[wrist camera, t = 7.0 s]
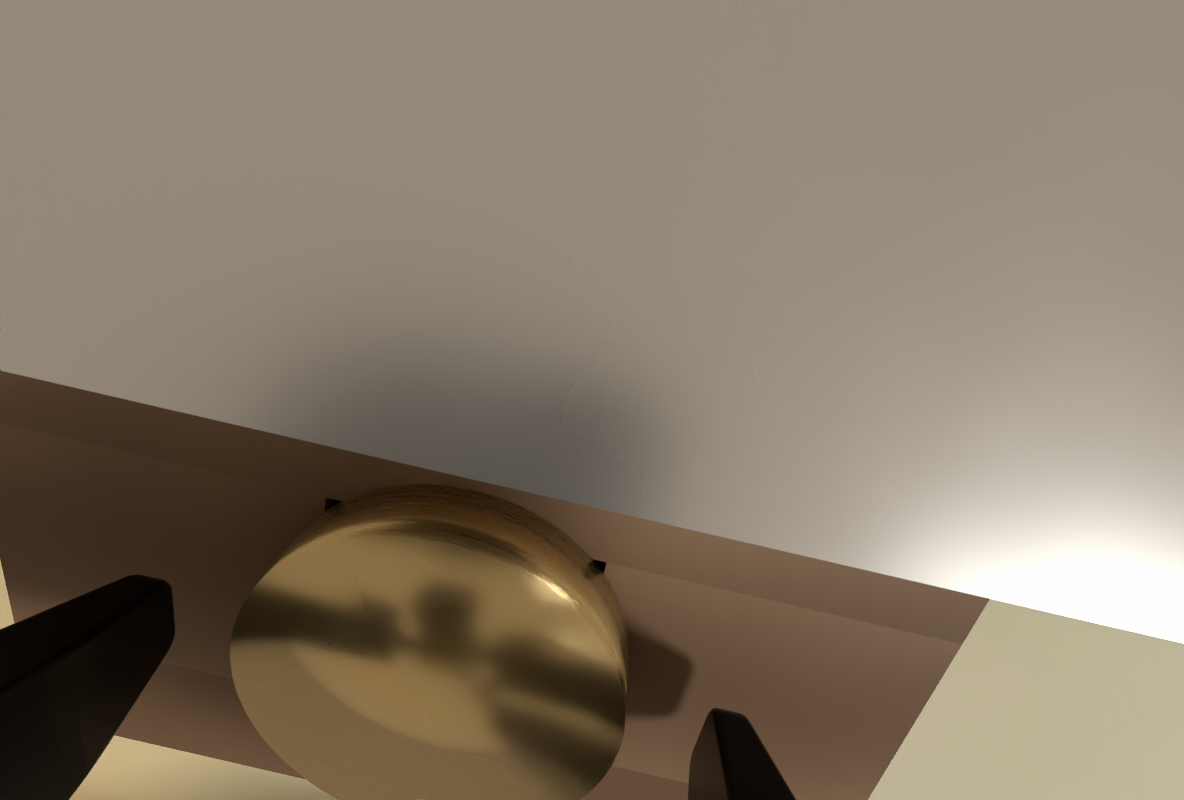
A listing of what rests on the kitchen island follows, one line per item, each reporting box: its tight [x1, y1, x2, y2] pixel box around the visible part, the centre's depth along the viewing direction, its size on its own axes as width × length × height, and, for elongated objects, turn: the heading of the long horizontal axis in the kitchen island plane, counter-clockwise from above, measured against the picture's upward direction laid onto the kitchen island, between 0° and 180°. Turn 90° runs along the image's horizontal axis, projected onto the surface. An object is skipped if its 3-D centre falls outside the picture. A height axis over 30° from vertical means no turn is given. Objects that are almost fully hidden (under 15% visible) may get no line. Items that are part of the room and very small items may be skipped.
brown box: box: [0, 371, 989, 800], centre depth 8 cm, size 16×12×5 cm
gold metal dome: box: [230, 484, 629, 800], centre depth 10 cm, size 5×5×5 cm
